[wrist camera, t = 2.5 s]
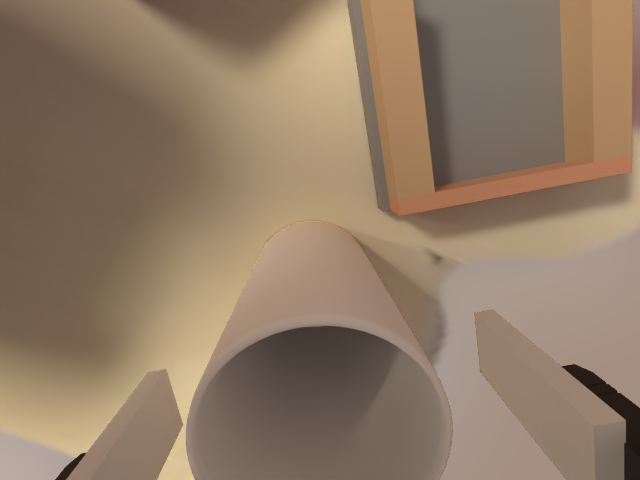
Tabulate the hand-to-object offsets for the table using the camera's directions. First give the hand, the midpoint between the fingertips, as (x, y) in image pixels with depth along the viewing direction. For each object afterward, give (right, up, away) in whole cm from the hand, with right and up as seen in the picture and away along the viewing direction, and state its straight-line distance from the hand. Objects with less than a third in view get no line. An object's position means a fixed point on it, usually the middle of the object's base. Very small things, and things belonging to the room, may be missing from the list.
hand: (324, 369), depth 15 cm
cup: (-1, +3, +12) cm, 12 cm away
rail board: (+9, +20, +8) cm, 24 cm away
